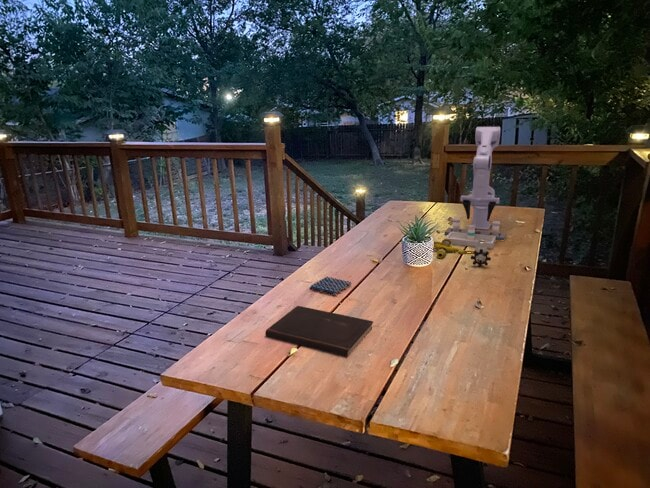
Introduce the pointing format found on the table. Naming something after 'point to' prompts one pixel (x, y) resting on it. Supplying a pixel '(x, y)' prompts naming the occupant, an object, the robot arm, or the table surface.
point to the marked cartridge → (471, 232)
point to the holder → (500, 237)
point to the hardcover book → (320, 330)
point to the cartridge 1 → (456, 224)
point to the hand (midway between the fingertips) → (478, 219)
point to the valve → (481, 253)
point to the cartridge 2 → (495, 228)
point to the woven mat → (330, 286)
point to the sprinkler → (447, 248)
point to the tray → (462, 240)
